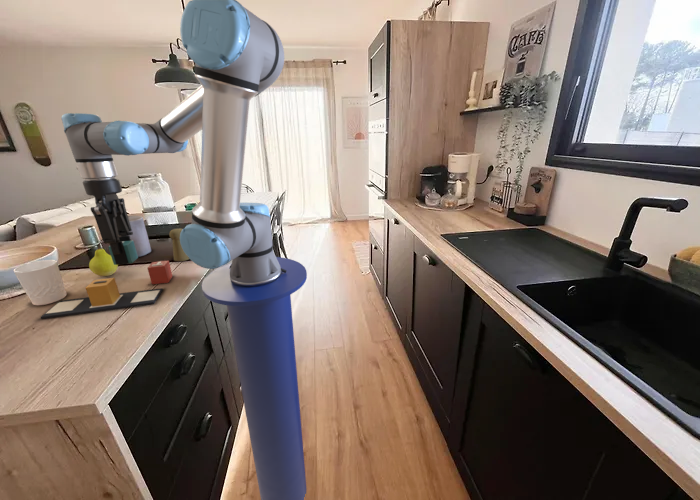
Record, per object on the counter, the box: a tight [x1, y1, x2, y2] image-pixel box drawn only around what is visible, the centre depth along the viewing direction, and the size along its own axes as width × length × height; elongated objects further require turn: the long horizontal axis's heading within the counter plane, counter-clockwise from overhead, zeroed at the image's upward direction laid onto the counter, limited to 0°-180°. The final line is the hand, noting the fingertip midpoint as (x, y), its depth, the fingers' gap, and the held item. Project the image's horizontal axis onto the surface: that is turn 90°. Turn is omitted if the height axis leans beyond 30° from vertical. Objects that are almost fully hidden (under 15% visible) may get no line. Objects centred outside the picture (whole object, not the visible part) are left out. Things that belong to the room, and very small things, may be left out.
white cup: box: [12, 259, 68, 306], centre depth 76 cm, size 8×8×10 cm
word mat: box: [40, 287, 164, 320], centre depth 76 cm, size 24×8×1 cm, turn 107°
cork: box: [168, 228, 190, 262], centre depth 103 cm, size 6×6×11 cm
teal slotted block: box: [107, 240, 139, 265], centre depth 83 cm, size 4×4×6 cm
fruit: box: [88, 239, 119, 277], centre depth 90 cm, size 7×7×12 cm
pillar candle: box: [119, 215, 152, 258], centre depth 107 cm, size 10×10×15 cm
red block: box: [147, 259, 173, 285], centre depth 88 cm, size 4×4×6 cm
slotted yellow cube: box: [85, 277, 121, 307], centre depth 75 cm, size 4×4×6 cm
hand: (126, 260), depth 84 cm, fingers closed on teal slotted block, 4 cm apart
